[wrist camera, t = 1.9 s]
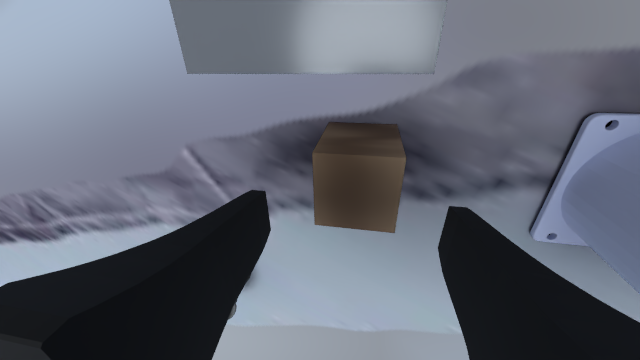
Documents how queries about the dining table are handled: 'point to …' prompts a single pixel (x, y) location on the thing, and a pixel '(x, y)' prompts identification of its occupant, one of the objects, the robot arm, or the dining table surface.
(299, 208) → the dining table surface
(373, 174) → the walnut block
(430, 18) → the slate coaster
